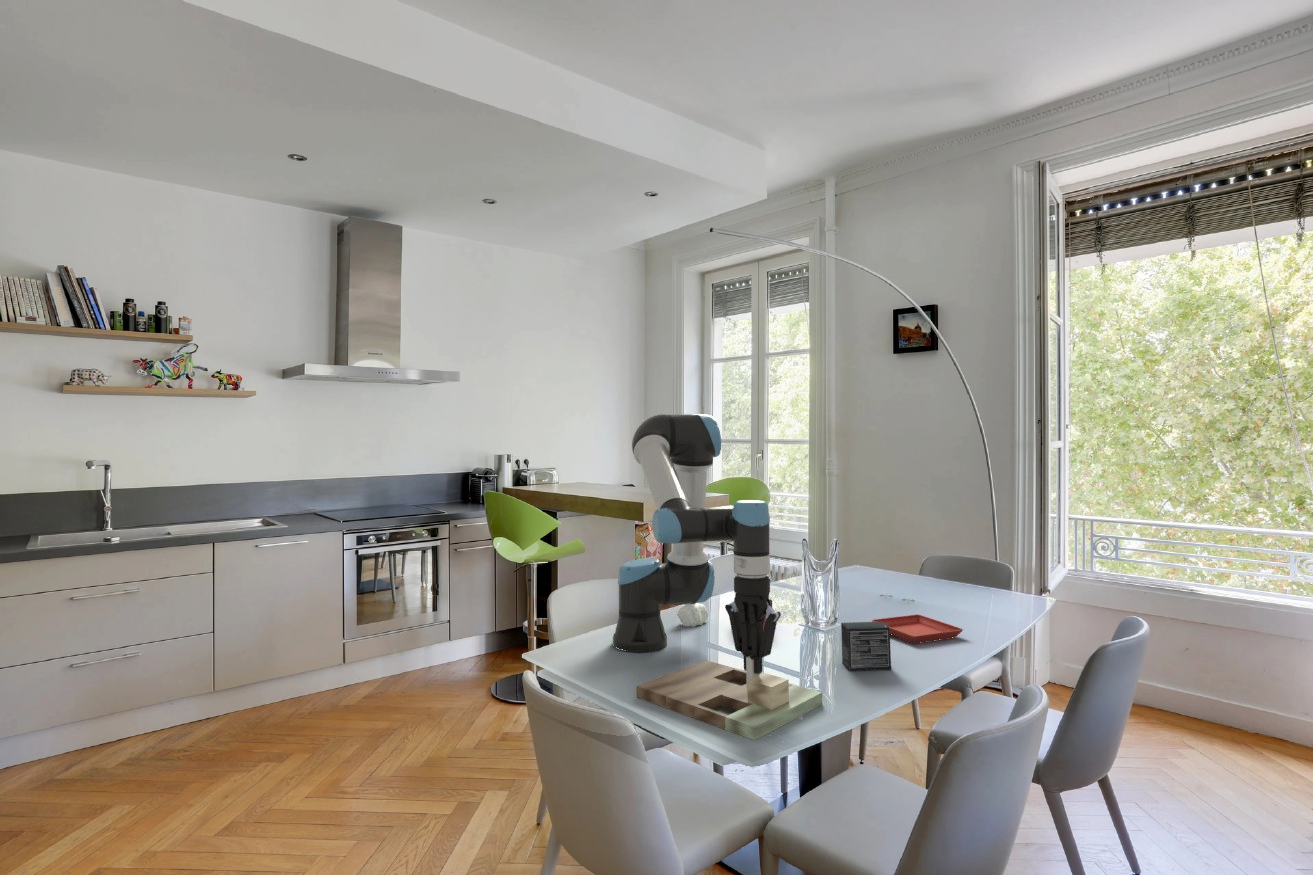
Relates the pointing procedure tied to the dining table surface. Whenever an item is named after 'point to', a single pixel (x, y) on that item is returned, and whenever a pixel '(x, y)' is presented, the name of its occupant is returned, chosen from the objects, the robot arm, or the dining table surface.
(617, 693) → the dining table surface
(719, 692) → the board
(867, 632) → the small box
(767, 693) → the block
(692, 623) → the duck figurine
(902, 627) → the plant saucer
